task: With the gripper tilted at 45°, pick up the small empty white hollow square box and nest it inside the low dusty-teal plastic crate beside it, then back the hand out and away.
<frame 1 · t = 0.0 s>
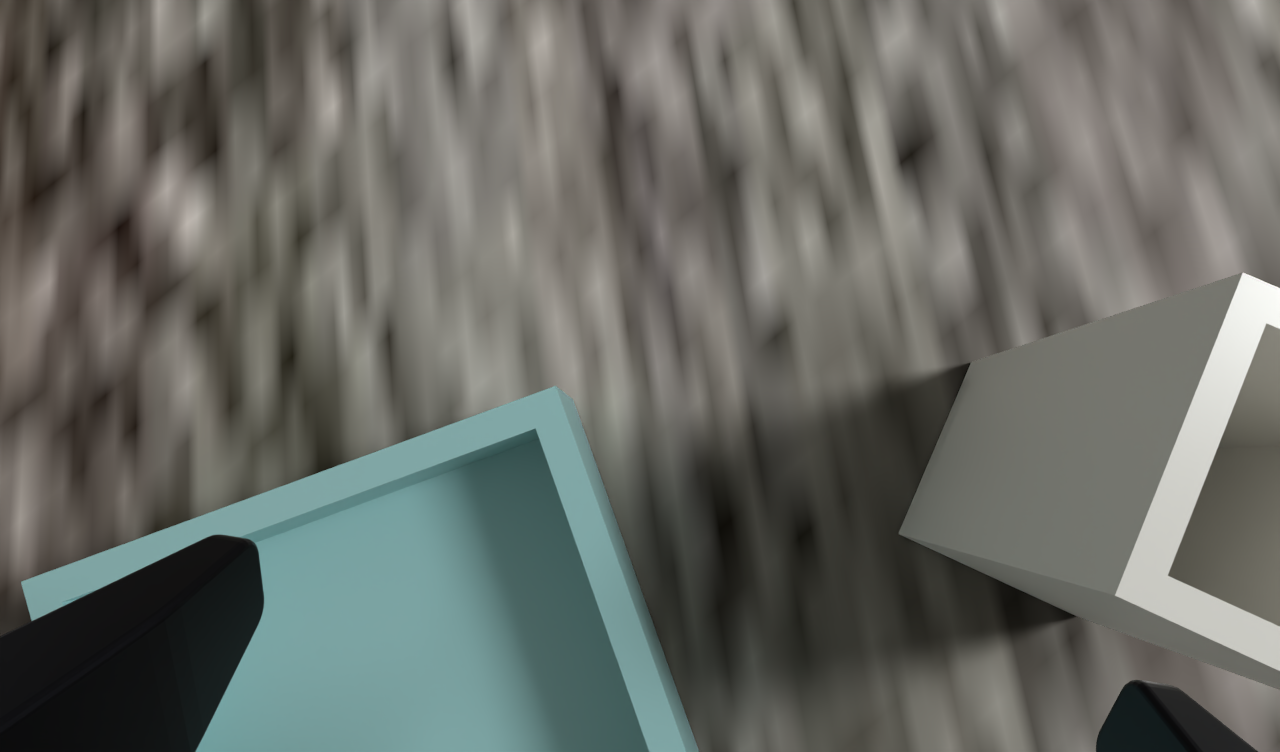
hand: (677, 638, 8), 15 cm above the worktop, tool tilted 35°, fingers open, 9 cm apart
white hollow square box: (1023, 487, 23), on the worktop
crate: (426, 709, 23), on the worktop
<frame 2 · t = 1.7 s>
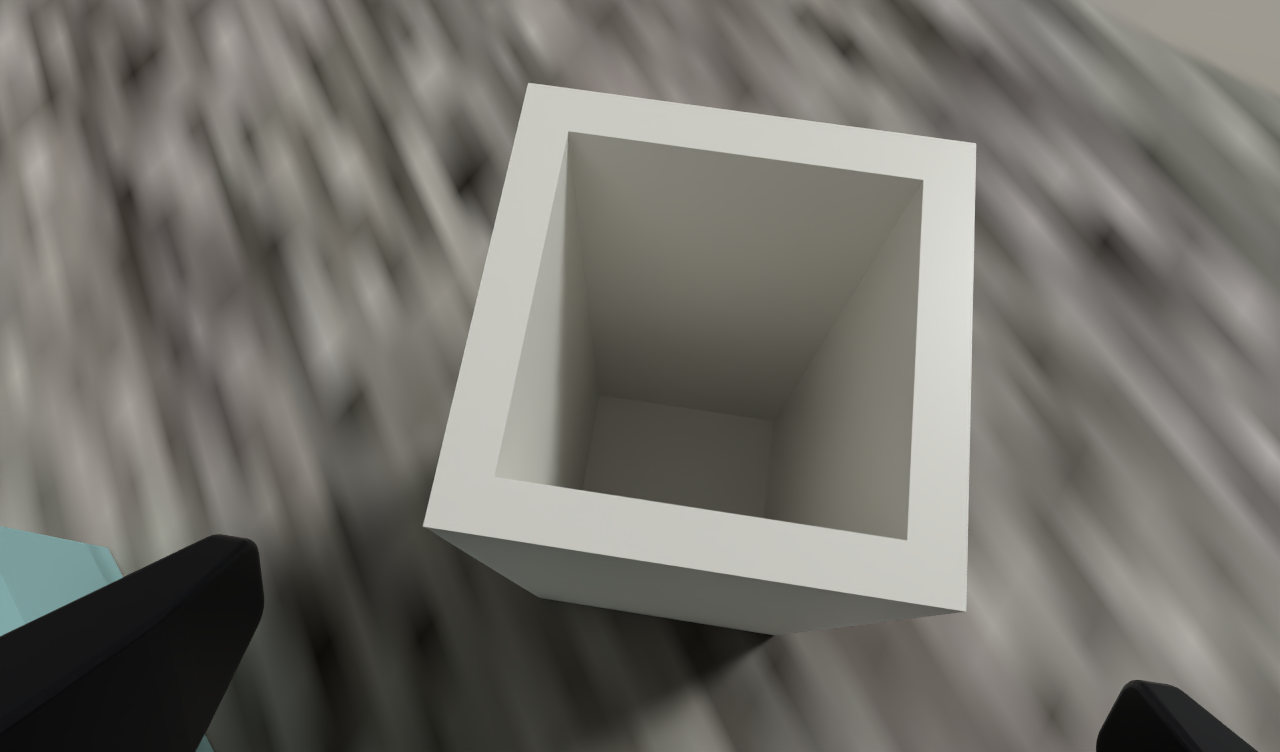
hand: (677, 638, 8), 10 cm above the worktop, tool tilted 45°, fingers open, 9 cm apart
white hollow square box: (672, 499, 19), on the worktop
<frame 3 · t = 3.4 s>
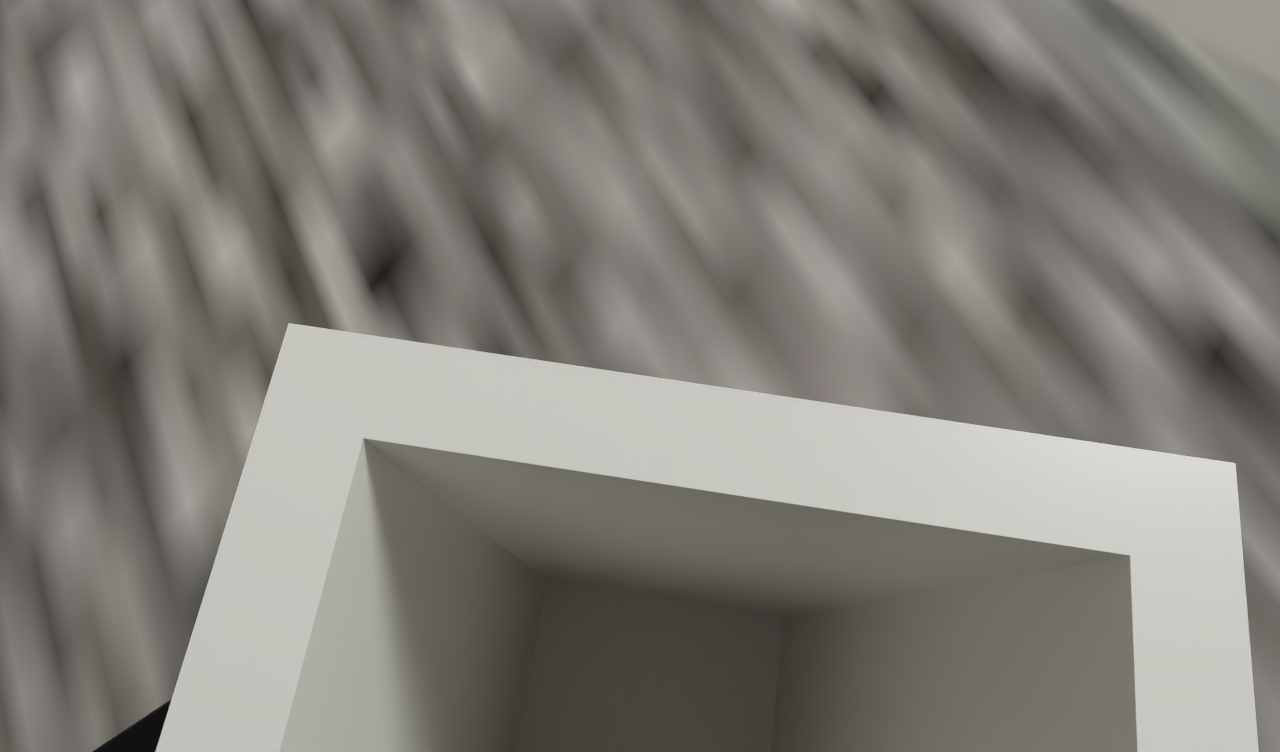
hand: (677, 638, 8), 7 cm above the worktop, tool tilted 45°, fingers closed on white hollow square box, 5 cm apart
white hollow square box: (646, 724, 14), on the worktop, touching gripper
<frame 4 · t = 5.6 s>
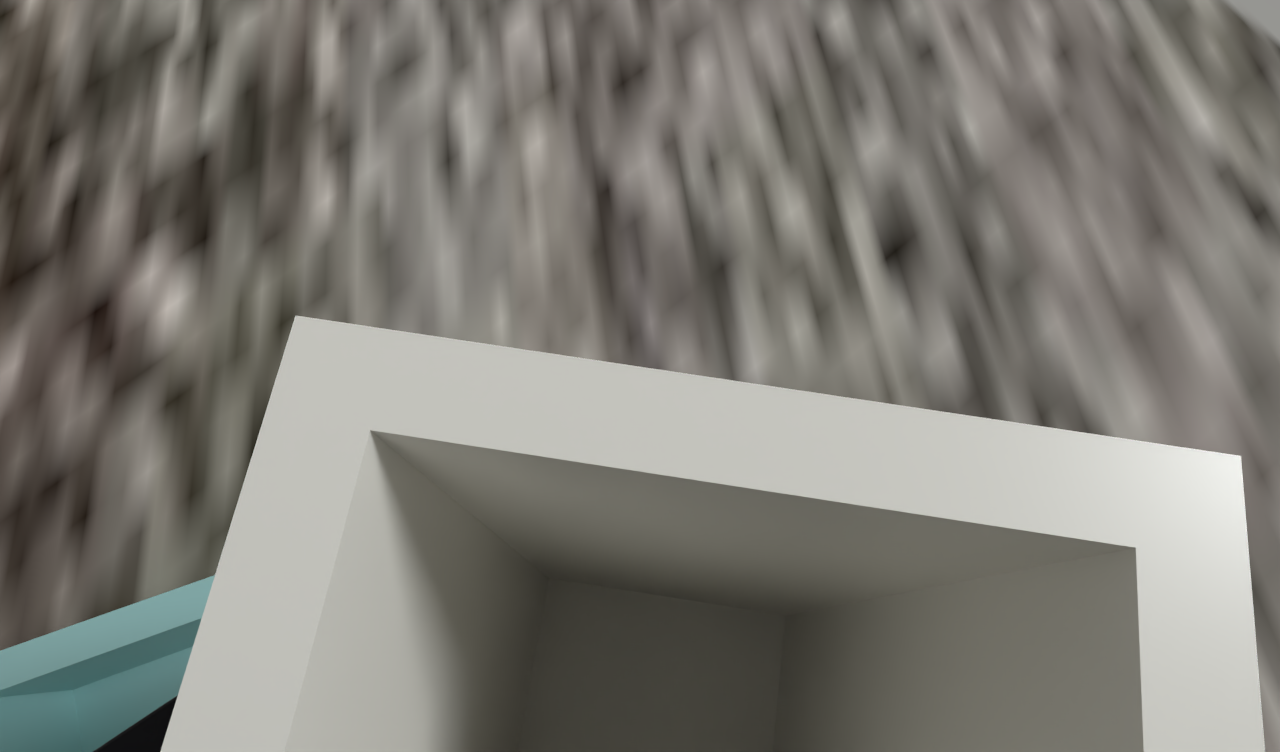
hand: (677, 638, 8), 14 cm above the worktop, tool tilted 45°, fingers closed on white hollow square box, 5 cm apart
white hollow square box: (648, 721, 14), point 7 cm above the worktop, touching gripper
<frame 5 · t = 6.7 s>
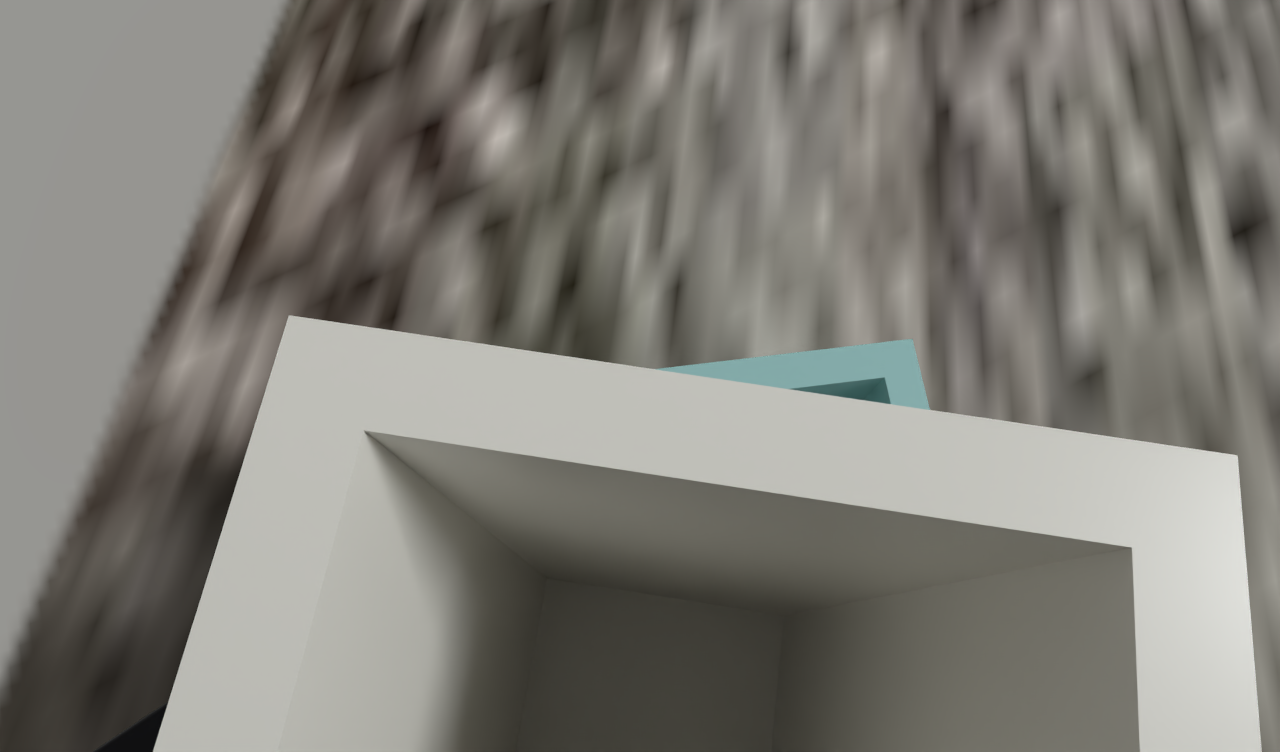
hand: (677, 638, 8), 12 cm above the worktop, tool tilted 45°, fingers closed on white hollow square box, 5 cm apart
white hollow square box: (646, 721, 14), point 5 cm above the worktop, touching gripper
crate: (643, 696, 19), on the worktop
when the fingers open (9 cm above the worktop, at t = 7.7 s): white hollow square box drops 1 cm, resting on crate.
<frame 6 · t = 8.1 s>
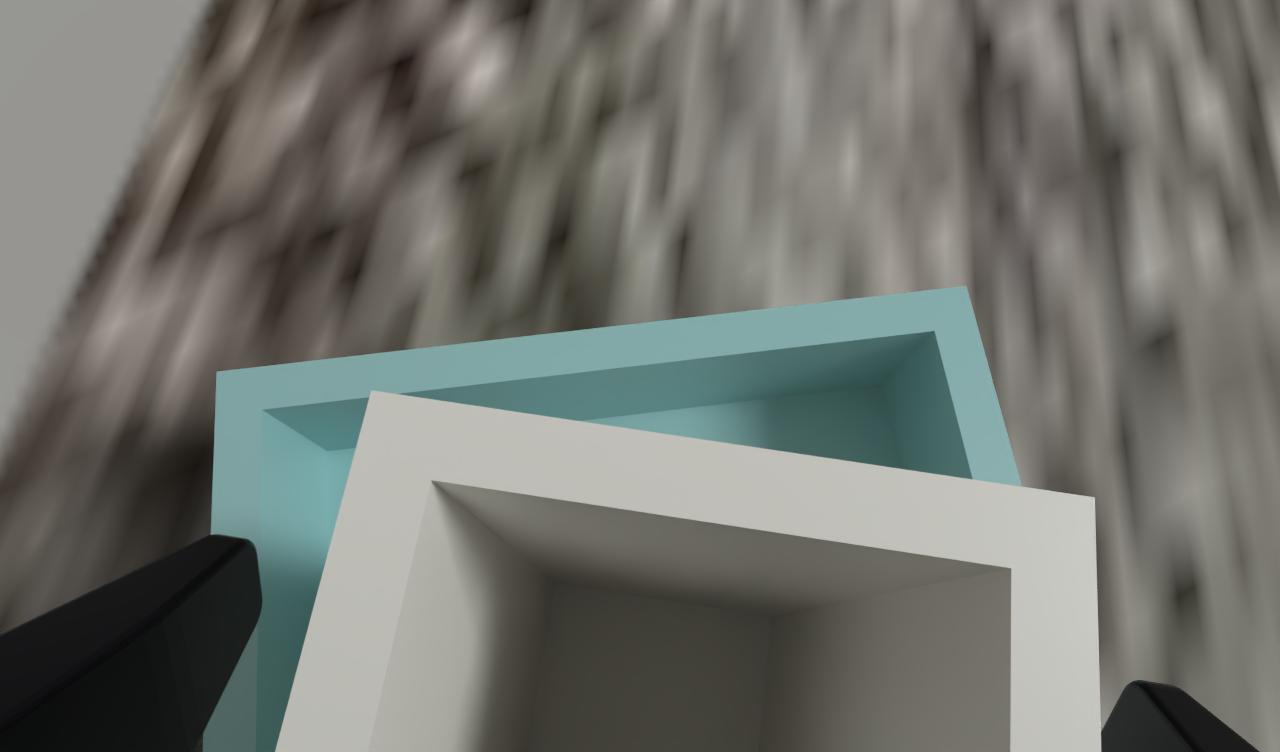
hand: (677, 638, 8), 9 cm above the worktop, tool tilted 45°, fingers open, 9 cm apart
white hollow square box: (646, 713, 16), point 1 cm above the worktop, touching crate
crate: (644, 713, 16), on the worktop
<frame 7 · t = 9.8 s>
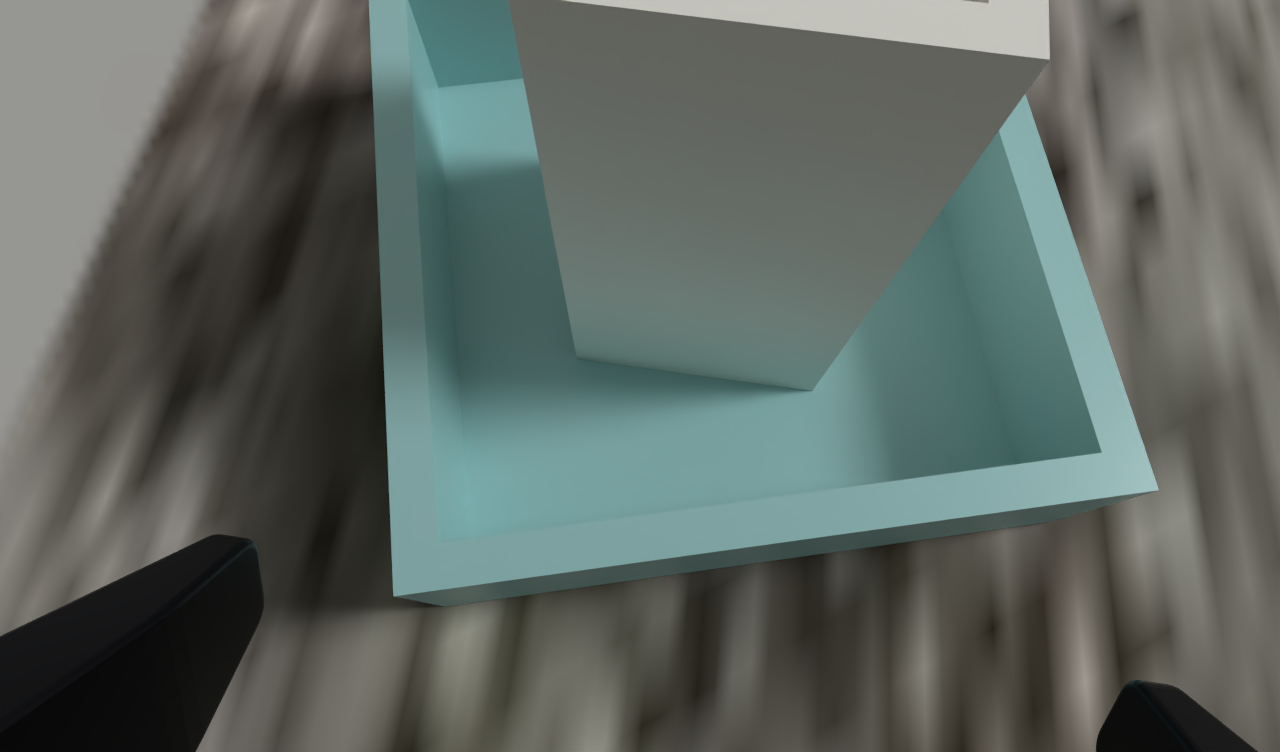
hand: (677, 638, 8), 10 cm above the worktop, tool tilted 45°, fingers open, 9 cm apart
white hollow square box: (707, 268, 19), point 1 cm above the worktop, touching crate
crate: (703, 284, 20), on the worktop
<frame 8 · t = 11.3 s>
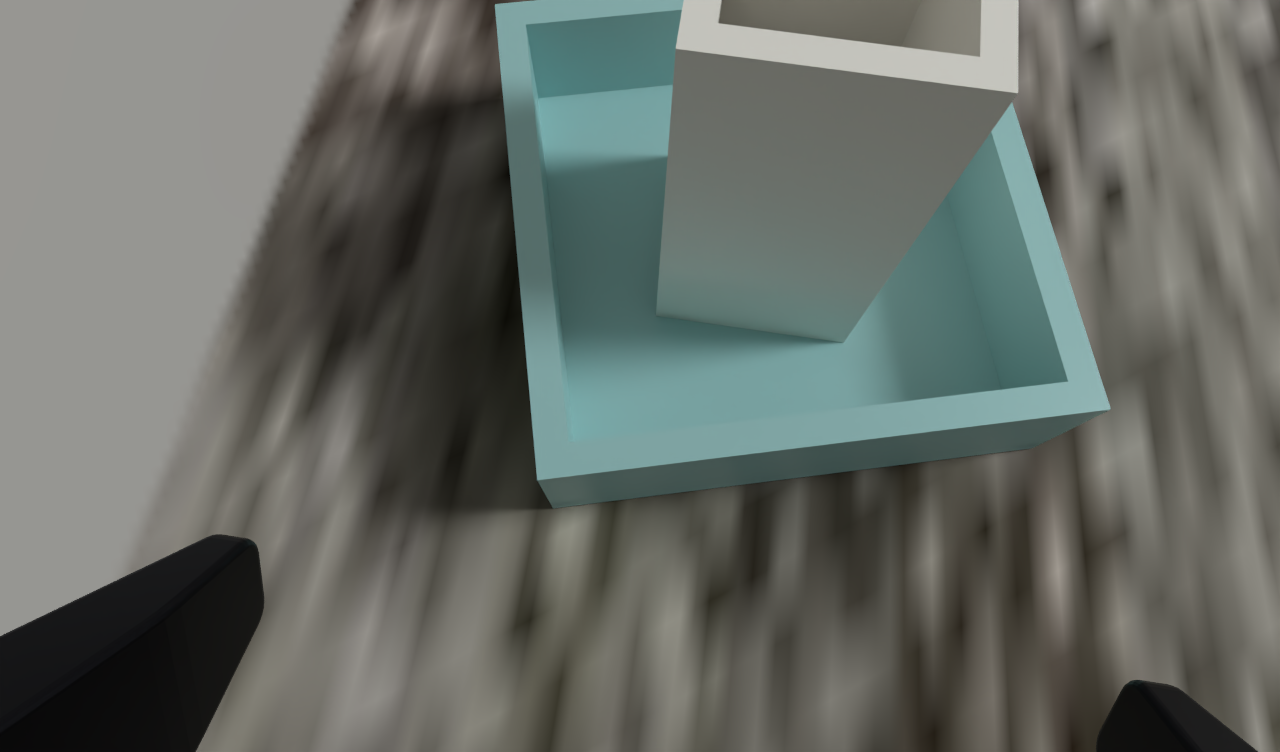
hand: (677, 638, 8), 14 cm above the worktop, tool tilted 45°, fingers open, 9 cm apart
white hollow square box: (758, 245, 24), point 1 cm above the worktop, touching crate
crate: (754, 259, 25), on the worktop
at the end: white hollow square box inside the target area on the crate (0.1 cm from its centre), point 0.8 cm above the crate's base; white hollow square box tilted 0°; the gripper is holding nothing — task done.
